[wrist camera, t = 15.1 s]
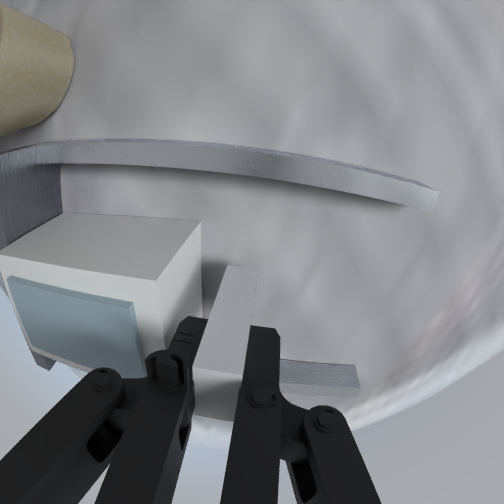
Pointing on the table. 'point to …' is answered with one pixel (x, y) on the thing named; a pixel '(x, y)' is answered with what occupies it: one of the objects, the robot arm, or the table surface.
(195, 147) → the rail
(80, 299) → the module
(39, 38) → the flower pot
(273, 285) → the table surface
